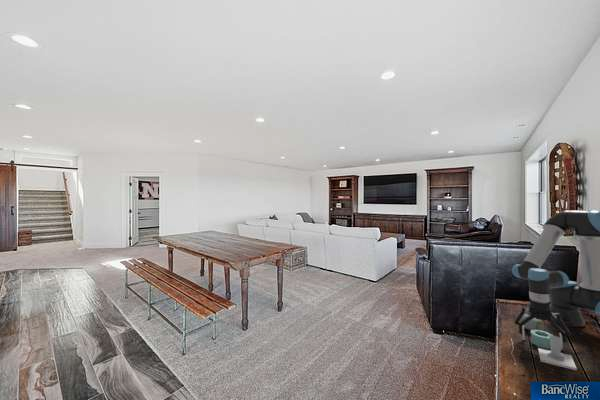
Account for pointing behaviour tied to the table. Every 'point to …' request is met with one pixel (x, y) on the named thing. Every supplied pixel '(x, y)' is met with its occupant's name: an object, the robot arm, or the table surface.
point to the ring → (540, 338)
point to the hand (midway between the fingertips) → (541, 343)
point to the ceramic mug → (533, 324)
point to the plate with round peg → (556, 355)
